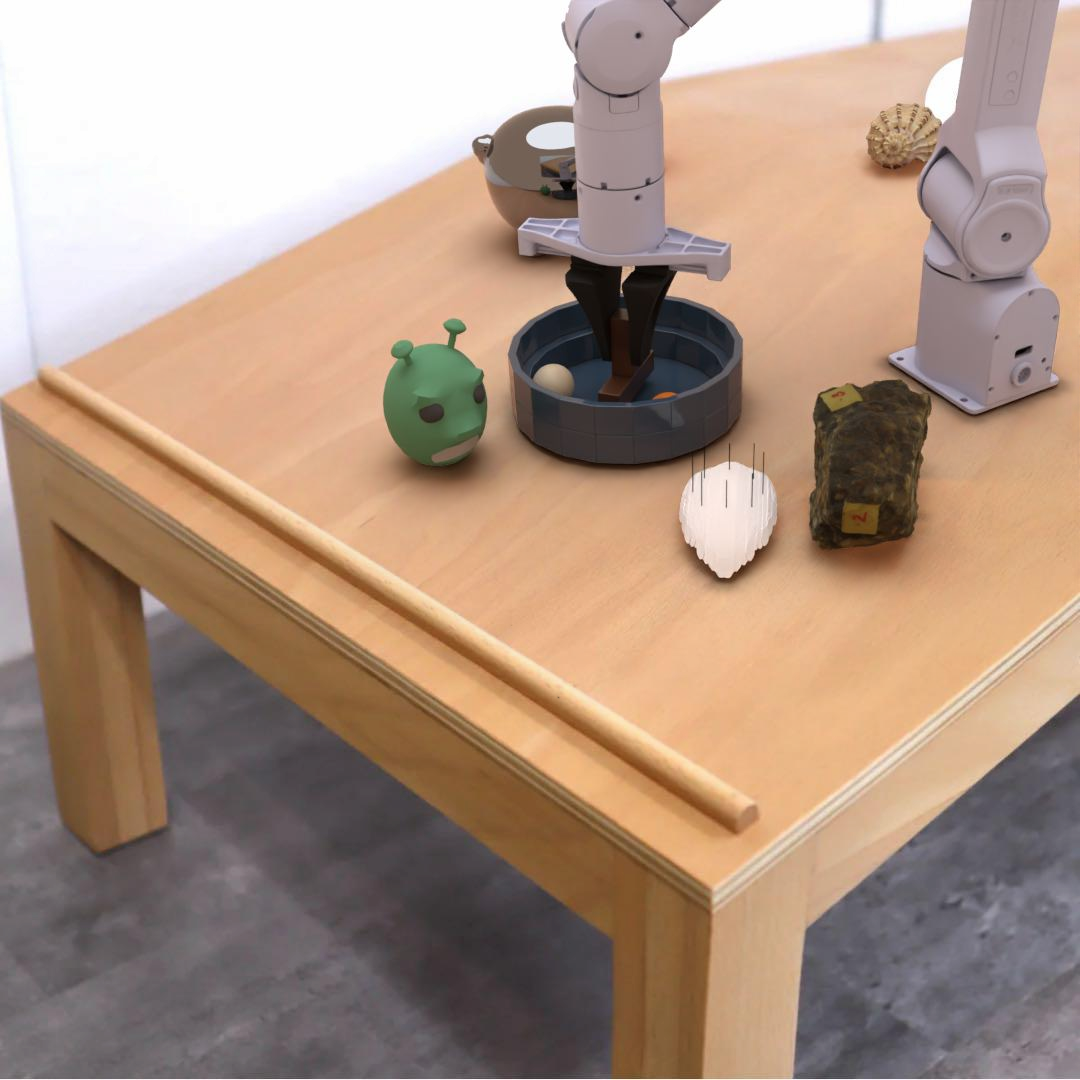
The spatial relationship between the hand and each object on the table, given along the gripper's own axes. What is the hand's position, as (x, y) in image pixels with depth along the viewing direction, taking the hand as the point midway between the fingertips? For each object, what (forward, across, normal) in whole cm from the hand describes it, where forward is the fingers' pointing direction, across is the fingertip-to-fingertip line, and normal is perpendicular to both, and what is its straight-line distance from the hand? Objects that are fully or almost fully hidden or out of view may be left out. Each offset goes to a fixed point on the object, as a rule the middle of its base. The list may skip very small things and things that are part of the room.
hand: (626, 357), depth 111 cm
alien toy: (+4, +10, +10) cm, 15 cm away
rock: (+4, -19, +8) cm, 21 cm away
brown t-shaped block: (+3, 0, 0) cm, 3 cm away
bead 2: (+2, -4, +3) cm, 6 cm away
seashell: (+4, -9, -49) cm, 50 cm away
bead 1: (+2, +5, +2) cm, 6 cm away
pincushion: (+4, -11, +12) cm, 17 cm away
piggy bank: (+4, +15, -25) cm, 29 cm away
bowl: (+4, 0, 0) cm, 4 cm away
